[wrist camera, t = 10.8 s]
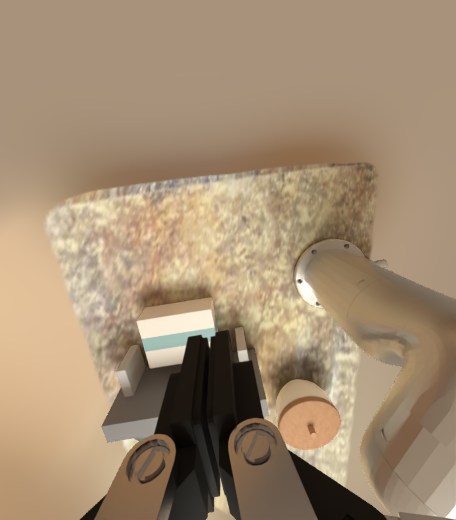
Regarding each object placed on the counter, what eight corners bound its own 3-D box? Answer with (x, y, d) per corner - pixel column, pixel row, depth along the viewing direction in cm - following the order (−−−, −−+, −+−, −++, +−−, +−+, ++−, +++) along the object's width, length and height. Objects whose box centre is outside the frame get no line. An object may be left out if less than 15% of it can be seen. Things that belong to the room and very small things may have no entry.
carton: (212, 296, 44) (211, 309, 39) (220, 340, 47) (220, 357, 42) (145, 307, 44) (136, 321, 39) (156, 350, 47) (149, 368, 42)
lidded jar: (265, 410, 51) (275, 457, 42) (275, 366, 48) (288, 406, 39) (316, 414, 52) (336, 461, 43) (328, 371, 49) (353, 412, 40)
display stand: (250, 325, 46) (261, 370, 34) (256, 361, 48) (268, 415, 36) (123, 346, 46) (90, 398, 34) (134, 382, 48) (107, 442, 36)
